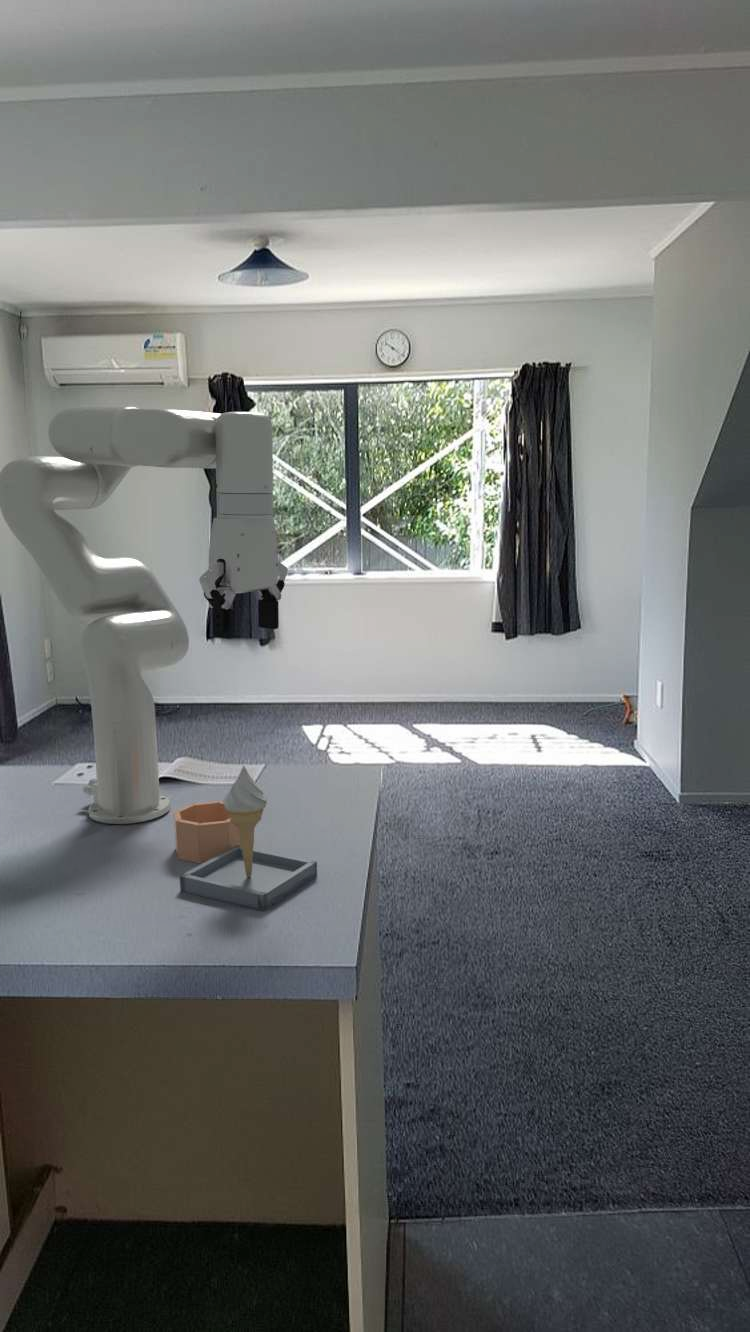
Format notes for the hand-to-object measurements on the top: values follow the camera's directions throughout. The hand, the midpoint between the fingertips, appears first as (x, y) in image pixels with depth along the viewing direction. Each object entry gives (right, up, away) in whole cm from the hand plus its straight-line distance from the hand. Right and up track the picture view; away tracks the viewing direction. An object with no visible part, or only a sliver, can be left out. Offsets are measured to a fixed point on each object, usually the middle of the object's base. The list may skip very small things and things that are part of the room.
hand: (246, 632), depth 132 cm
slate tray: (+2, -33, -8) cm, 34 cm away
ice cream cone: (+1, -32, -8) cm, 33 cm away
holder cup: (-6, -31, +4) cm, 31 cm away
